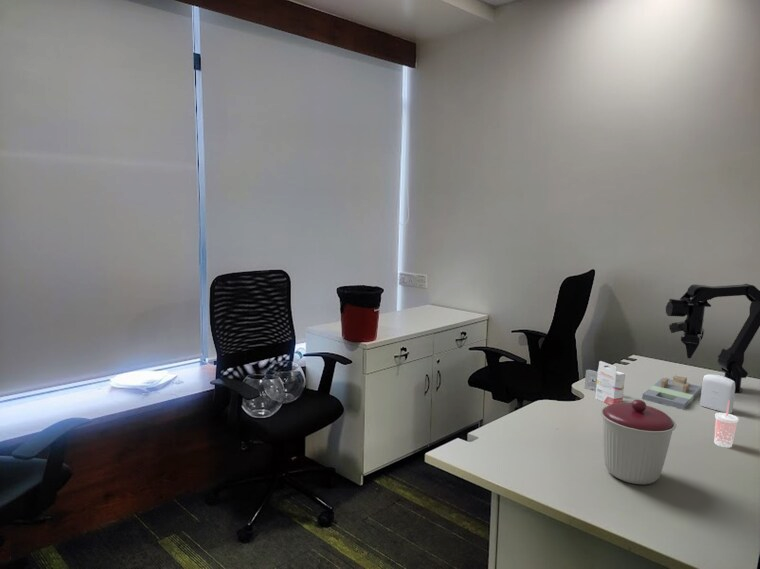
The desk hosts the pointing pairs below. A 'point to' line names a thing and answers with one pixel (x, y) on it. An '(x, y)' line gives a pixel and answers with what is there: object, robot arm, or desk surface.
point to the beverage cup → (725, 428)
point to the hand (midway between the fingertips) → (690, 355)
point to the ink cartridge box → (609, 384)
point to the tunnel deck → (672, 393)
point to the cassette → (591, 380)
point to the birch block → (679, 380)
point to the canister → (635, 441)
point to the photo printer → (717, 393)
